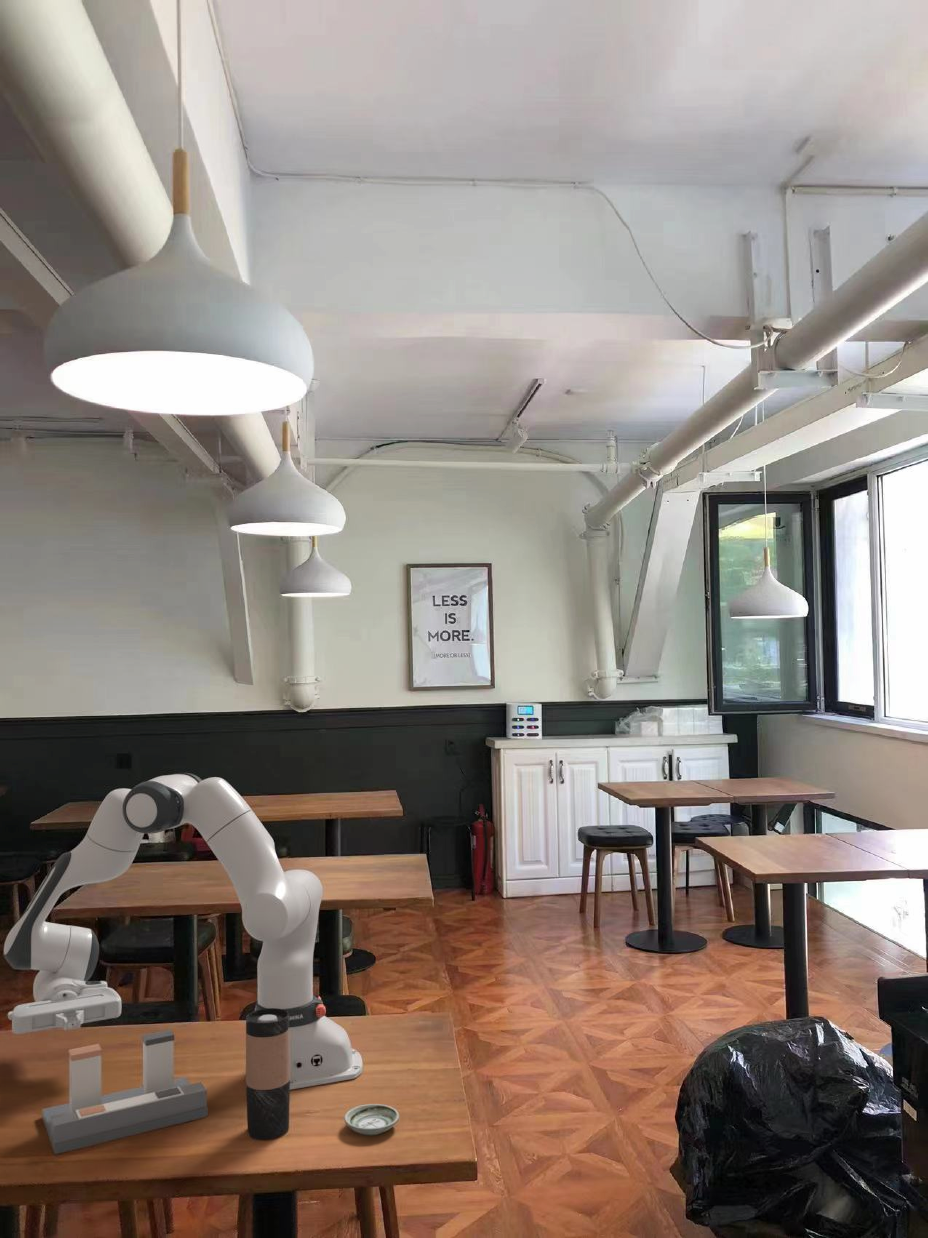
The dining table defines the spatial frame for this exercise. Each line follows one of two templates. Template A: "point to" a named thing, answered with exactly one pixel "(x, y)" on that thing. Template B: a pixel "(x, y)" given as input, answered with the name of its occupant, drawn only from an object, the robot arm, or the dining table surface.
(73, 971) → the robot arm
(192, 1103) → the key console
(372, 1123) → the saucer
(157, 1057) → the charcoal key
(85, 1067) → the terracotta key
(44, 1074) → the dining table surface
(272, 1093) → the travel mug
